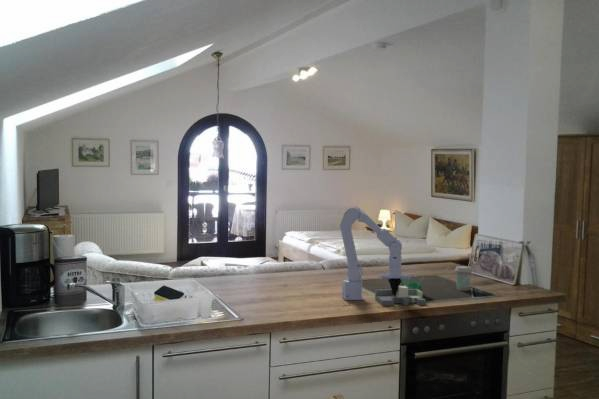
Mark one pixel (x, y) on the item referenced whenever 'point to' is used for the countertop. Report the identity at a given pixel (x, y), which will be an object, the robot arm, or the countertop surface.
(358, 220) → the robot arm
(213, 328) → the countertop surface
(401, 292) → the cream block
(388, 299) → the trap board
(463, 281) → the coffee cup
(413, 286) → the food container
